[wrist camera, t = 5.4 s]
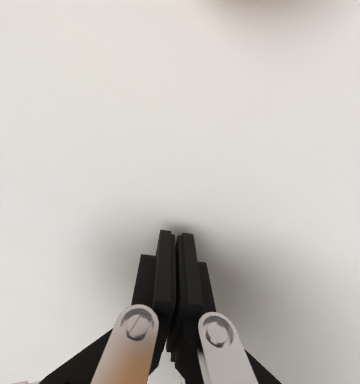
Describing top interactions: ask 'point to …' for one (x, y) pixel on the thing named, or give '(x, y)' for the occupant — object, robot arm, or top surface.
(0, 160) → the top surface
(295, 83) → the top surface
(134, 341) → the robot arm
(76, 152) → the top surface
